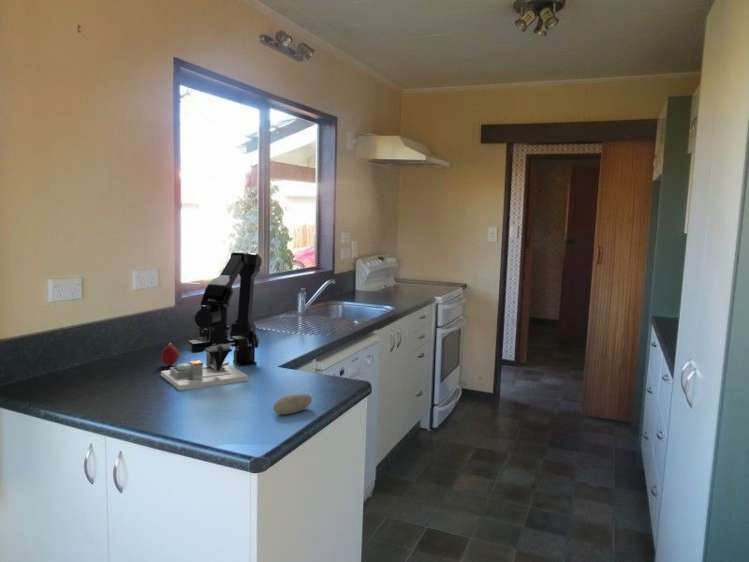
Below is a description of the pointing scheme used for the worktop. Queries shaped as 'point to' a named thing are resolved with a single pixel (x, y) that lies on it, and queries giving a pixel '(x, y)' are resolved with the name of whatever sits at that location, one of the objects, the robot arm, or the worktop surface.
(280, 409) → the stone
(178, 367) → the button green
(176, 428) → the worktop surface
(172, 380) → the panel
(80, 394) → the worktop surface
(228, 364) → the rocker grey
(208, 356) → the slider grey
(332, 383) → the worktop surface
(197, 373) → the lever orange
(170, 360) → the onion
